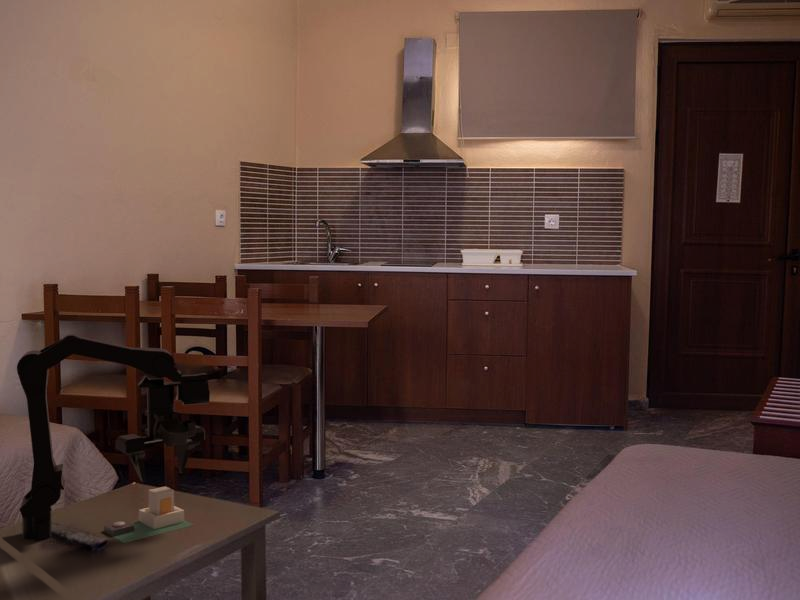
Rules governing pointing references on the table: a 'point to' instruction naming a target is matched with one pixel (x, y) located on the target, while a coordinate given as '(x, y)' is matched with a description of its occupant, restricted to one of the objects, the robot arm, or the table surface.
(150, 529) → the header board
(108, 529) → the push button
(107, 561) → the table surface
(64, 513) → the table surface
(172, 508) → the plug
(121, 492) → the table surface
